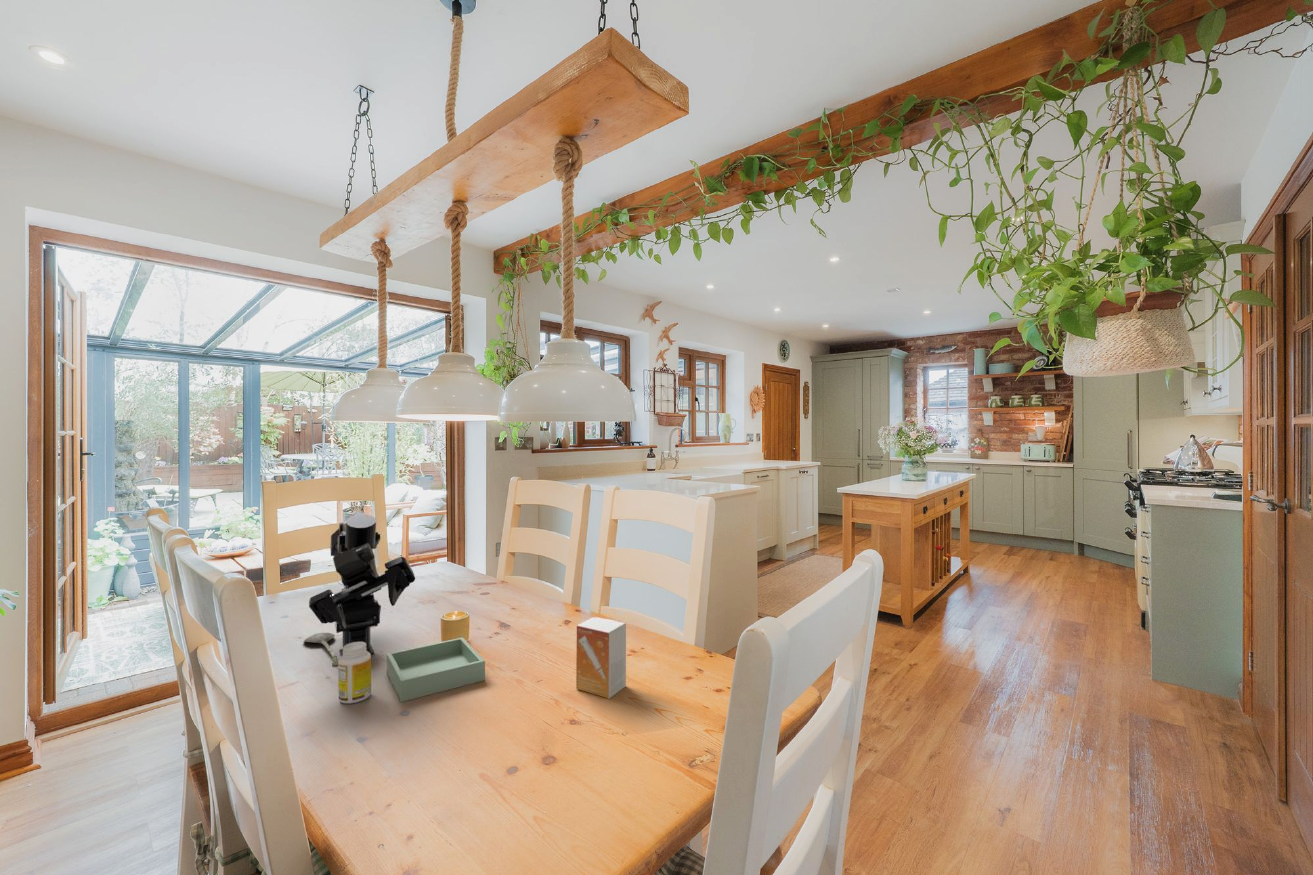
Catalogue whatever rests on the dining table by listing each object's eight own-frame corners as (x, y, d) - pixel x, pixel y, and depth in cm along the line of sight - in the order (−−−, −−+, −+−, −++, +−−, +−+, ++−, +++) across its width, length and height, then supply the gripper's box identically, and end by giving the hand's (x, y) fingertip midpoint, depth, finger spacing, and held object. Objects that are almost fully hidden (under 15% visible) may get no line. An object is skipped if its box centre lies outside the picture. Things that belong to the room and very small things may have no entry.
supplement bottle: (375, 690, 109) (375, 639, 109) (363, 704, 103) (363, 650, 103) (346, 691, 108) (346, 640, 108) (332, 705, 103) (332, 651, 103)
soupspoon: (331, 638, 139) (301, 646, 135) (331, 625, 139) (300, 633, 135) (353, 662, 123) (319, 672, 119) (352, 647, 123) (318, 657, 118)
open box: (386, 671, 117) (386, 653, 117) (462, 654, 127) (462, 637, 127) (401, 701, 104) (401, 681, 104) (484, 680, 114) (484, 660, 113)
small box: (575, 689, 109) (575, 624, 109) (594, 677, 115) (594, 615, 115) (609, 699, 105) (609, 632, 105) (626, 686, 111) (626, 622, 111)
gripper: (294, 562, 110) (294, 613, 98) (389, 521, 117) (400, 564, 105) (321, 598, 116) (324, 650, 104) (410, 557, 123) (422, 602, 111)
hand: (368, 615), depth 106 cm, fingers open, 9 cm apart
